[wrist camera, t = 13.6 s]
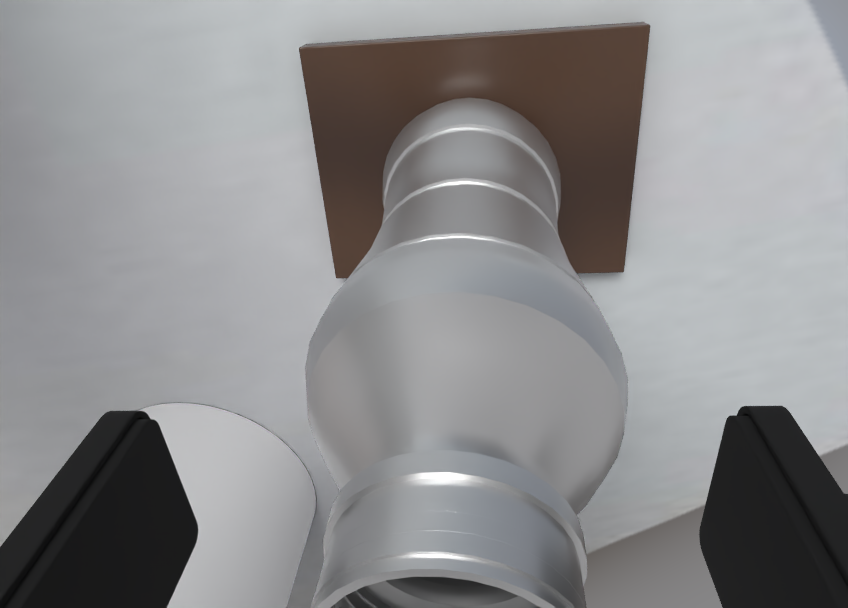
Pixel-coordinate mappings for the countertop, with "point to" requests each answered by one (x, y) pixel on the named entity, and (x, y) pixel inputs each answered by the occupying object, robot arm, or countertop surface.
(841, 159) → the countertop surface
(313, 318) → the countertop surface
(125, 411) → the robot arm
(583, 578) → the silver bottle
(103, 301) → the countertop surface
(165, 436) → the canister
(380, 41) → the walnut board
